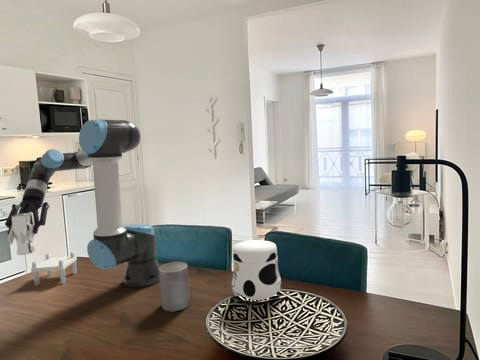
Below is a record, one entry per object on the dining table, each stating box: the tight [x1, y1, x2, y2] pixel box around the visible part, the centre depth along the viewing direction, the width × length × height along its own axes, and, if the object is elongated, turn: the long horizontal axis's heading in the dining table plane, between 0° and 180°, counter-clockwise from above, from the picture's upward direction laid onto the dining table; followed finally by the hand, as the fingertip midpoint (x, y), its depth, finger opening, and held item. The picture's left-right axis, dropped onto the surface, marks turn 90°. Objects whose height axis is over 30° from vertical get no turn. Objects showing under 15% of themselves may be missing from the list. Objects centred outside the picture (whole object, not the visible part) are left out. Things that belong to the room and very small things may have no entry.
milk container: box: [231, 239, 282, 300], centre depth 123 cm, size 17×17×18 cm
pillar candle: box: [159, 261, 191, 313], centre depth 119 cm, size 10×10×15 cm
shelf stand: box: [30, 251, 78, 286], centre depth 151 cm, size 13×13×10 cm
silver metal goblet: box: [12, 212, 36, 256], centre depth 136 cm, size 7×7×15 cm
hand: (19, 241), depth 133 cm, fingers closed on silver metal goblet, 6 cm apart
